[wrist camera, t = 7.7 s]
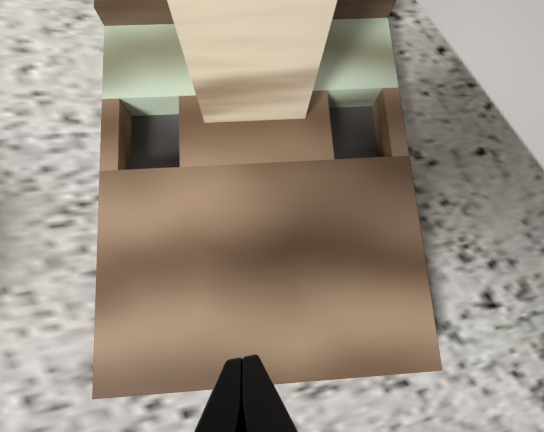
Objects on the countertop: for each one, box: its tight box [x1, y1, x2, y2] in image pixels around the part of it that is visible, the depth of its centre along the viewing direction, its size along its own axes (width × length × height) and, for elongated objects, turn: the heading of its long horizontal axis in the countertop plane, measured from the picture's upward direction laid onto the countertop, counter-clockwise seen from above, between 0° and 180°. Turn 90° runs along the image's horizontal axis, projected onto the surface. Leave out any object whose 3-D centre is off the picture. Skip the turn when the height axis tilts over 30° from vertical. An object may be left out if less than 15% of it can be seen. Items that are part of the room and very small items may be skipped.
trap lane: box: [92, 0, 442, 399], centre depth 21 cm, size 22×18×4 cm
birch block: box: [167, 0, 337, 123], centre depth 17 cm, size 6×6×10 cm
